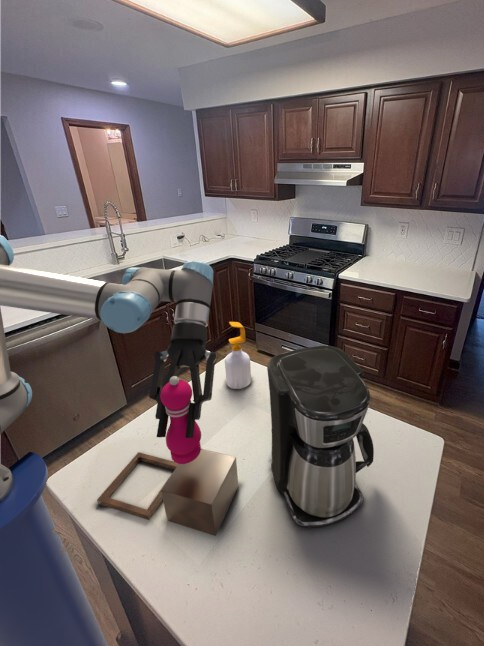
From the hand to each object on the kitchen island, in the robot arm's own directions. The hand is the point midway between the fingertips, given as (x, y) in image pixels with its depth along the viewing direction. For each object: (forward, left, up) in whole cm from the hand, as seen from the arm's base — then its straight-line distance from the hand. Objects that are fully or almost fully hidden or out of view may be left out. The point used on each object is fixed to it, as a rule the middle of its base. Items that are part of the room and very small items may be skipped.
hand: (175, 437), depth 62 cm
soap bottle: (-9, +48, -24) cm, 55 cm away
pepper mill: (-1, +4, -8) cm, 9 cm away
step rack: (-7, +3, -23) cm, 25 cm away
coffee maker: (+26, +20, -24) cm, 41 cm away
